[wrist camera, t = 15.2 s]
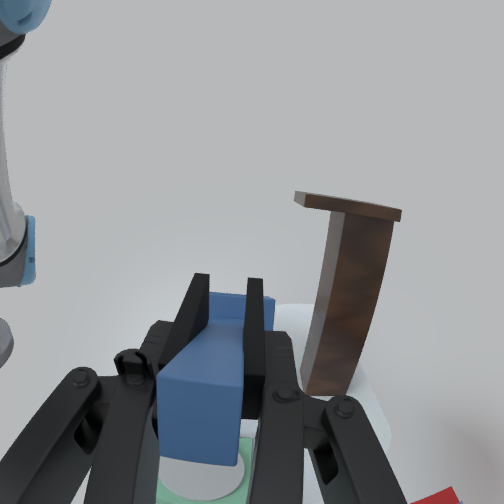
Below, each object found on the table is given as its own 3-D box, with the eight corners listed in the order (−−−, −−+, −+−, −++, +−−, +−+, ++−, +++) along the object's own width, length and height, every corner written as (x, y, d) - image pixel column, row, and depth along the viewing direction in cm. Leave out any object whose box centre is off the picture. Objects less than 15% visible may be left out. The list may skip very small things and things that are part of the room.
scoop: (91, 437, 5) (83, 296, 6) (198, 334, 24) (201, 290, 25) (315, 467, 5) (339, 322, 6) (264, 340, 24) (268, 296, 25)
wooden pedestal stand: (270, 404, 36) (305, 193, 29) (269, 366, 46) (295, 190, 39) (348, 405, 36) (405, 210, 29) (336, 369, 46) (374, 203, 39)
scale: (142, 499, 18) (137, 490, 17) (165, 433, 28) (163, 421, 28) (246, 518, 18) (248, 511, 17) (250, 446, 28) (253, 435, 28)
